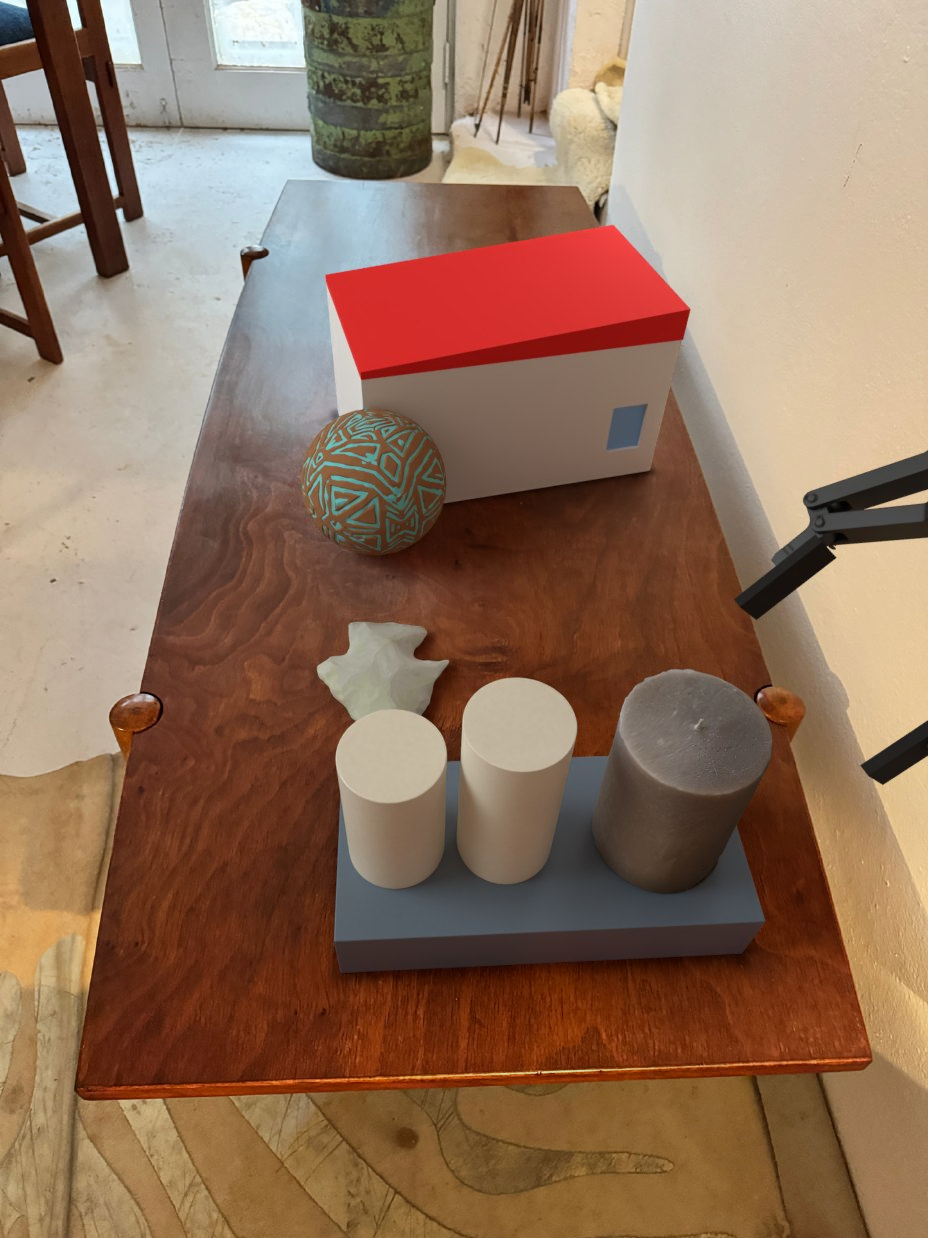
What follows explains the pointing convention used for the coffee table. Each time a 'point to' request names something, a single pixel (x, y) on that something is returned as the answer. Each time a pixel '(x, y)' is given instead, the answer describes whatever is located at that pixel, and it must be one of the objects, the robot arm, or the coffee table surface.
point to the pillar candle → (678, 779)
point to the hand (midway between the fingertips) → (802, 686)
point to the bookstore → (515, 357)
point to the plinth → (539, 903)
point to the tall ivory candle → (512, 777)
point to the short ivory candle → (393, 796)
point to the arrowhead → (381, 670)
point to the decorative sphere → (373, 481)
